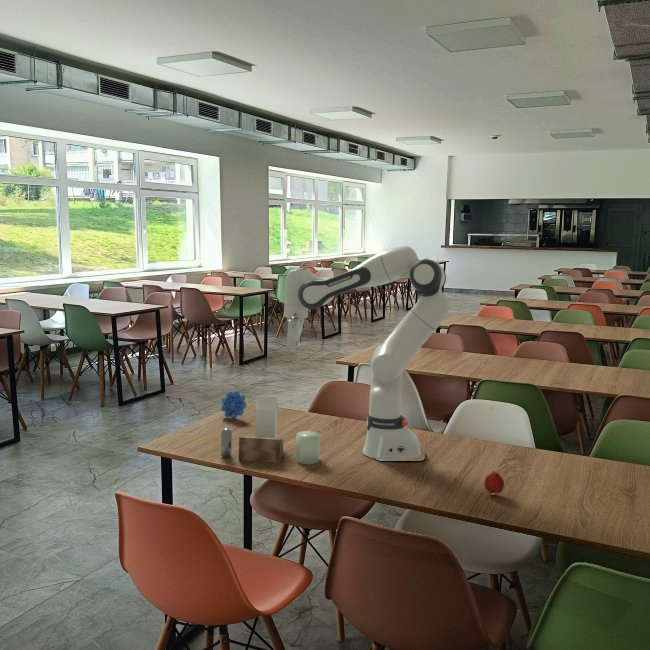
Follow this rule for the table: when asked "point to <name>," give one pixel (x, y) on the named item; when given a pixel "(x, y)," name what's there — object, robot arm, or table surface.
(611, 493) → the table surface
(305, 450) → the sage mug
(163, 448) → the table surface
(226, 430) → the grey shaker
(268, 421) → the milk carton
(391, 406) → the robot arm
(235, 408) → the grapes
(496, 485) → the onion
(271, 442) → the walnut holder
